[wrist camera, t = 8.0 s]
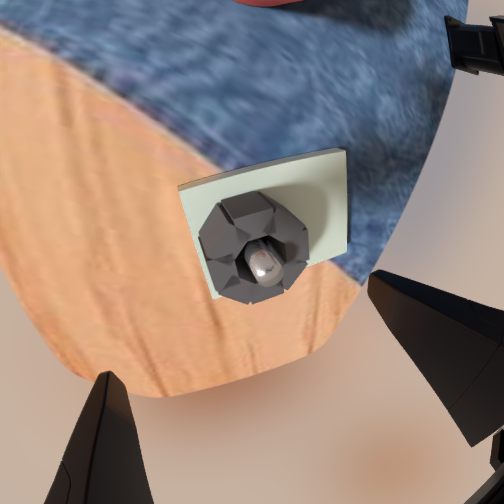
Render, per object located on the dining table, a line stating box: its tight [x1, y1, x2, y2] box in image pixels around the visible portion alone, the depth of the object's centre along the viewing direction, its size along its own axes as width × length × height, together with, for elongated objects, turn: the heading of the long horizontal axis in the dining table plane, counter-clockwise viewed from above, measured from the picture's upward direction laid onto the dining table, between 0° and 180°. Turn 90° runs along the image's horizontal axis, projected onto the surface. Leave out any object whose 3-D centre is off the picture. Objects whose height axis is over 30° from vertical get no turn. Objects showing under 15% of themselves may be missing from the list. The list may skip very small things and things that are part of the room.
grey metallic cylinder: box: [241, 238, 284, 287], centre depth 18 cm, size 2×2×6 cm
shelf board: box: [177, 148, 347, 299], centre depth 20 cm, size 12×9×1 cm
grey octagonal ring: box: [198, 190, 310, 304], centre depth 18 cm, size 6×6×3 cm
